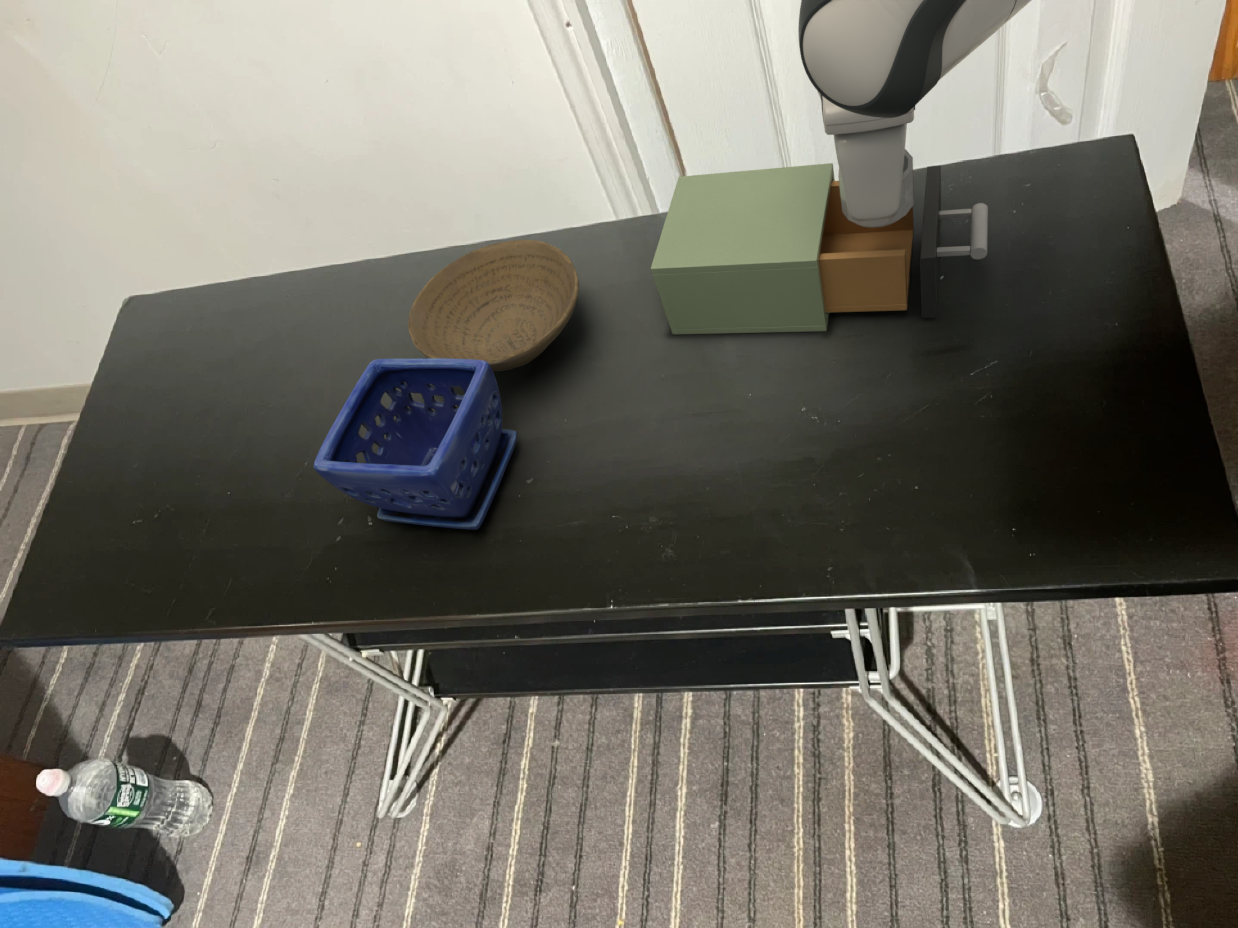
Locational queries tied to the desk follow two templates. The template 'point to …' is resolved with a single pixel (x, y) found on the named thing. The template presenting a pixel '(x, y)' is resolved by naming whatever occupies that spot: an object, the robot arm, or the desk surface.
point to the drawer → (890, 254)
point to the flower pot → (421, 442)
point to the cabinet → (745, 251)
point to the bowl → (496, 304)
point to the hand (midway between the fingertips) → (877, 192)
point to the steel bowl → (906, 194)
